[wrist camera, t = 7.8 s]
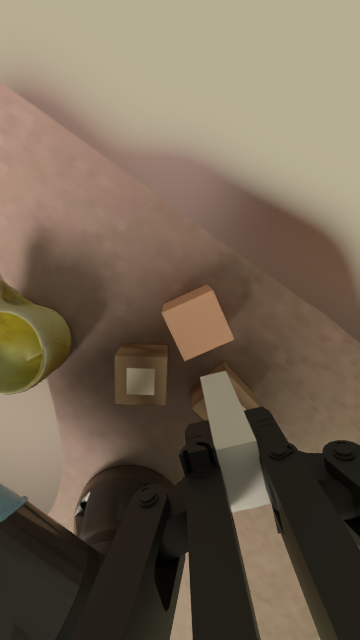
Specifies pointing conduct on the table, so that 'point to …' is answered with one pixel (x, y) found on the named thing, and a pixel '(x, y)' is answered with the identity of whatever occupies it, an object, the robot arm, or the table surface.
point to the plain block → (196, 322)
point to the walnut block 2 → (241, 389)
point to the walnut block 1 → (141, 374)
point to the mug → (29, 341)
